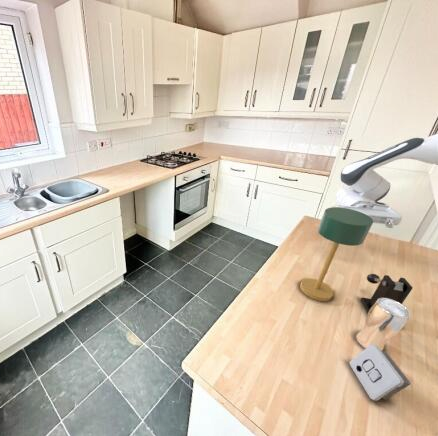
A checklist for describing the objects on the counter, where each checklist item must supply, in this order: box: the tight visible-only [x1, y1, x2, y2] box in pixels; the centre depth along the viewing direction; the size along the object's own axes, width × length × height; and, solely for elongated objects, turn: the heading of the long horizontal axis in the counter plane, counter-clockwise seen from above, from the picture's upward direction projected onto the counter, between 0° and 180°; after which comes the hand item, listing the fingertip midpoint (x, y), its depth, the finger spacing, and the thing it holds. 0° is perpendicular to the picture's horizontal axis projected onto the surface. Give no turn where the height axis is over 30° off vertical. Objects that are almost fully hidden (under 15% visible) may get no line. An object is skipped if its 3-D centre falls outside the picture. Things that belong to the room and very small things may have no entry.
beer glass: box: [355, 298, 411, 351], centre depth 67 cm, size 7×7×15 cm
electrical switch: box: [349, 345, 412, 402], centre depth 60 cm, size 9×5×9 cm, turn 173°
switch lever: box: [366, 273, 404, 291], centre depth 80 cm, size 14×3×3 cm, turn 163°
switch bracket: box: [360, 274, 414, 313], centre depth 77 cm, size 9×7×14 cm
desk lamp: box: [299, 206, 374, 302], centre depth 82 cm, size 12×12×32 cm
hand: (375, 224), depth 88 cm, fingers open, 8 cm apart
